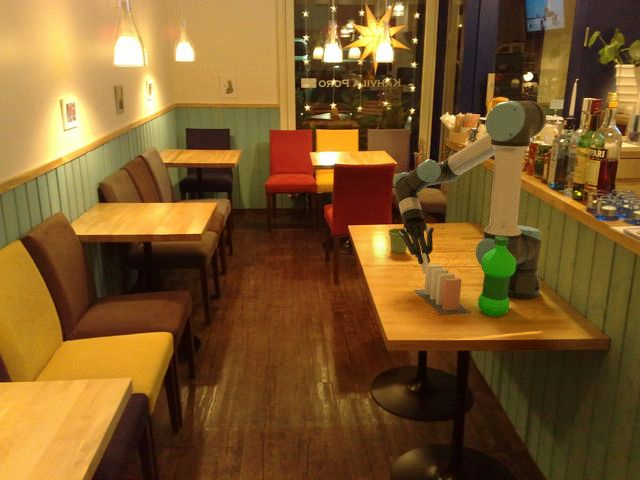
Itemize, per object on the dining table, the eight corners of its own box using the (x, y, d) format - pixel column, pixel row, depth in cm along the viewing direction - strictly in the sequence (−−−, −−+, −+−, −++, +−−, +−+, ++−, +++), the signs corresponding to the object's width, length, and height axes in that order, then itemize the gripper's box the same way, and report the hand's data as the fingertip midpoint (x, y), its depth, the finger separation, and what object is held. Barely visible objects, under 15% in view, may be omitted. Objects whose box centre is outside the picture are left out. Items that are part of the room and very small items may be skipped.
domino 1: (424, 293, 205) (426, 265, 202) (437, 292, 206) (440, 264, 203) (426, 294, 203) (428, 266, 200) (439, 293, 205) (442, 265, 202)
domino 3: (435, 303, 196) (438, 273, 194) (449, 302, 198) (452, 273, 195) (437, 305, 195) (440, 275, 192) (452, 303, 196) (454, 274, 193)
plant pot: (411, 255, 247) (412, 234, 245) (387, 254, 248) (389, 234, 245) (408, 248, 256) (409, 228, 254) (385, 247, 257) (387, 228, 254)
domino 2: (429, 298, 201) (432, 269, 198) (443, 297, 202) (446, 268, 199) (431, 299, 199) (434, 271, 196) (445, 298, 200) (448, 270, 198)
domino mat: (413, 291, 207) (413, 290, 207) (439, 289, 210) (440, 288, 210) (441, 317, 187) (441, 315, 187) (470, 314, 190) (471, 312, 189)
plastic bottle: (487, 322, 184) (497, 244, 177) (469, 308, 194) (478, 234, 186) (515, 319, 187) (526, 242, 179) (496, 305, 197) (506, 232, 189)
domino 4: (441, 308, 192) (444, 278, 189) (456, 307, 193) (459, 277, 191) (444, 310, 191) (447, 280, 188) (458, 309, 192) (461, 279, 189)
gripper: (424, 217, 223) (440, 275, 212) (391, 218, 220) (405, 277, 209) (431, 206, 217) (448, 266, 206) (397, 207, 213) (412, 268, 203)
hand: (426, 271), depth 207 cm, fingers closed
